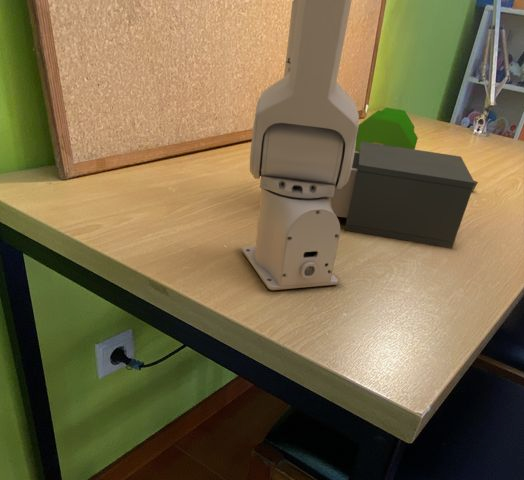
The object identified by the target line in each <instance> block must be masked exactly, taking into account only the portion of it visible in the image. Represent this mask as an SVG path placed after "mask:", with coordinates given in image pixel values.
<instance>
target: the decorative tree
mask: <svg viewBox="0 0 524 480" xmlns="http://www.w3.org/2000/svg"><path fill="white" fill-rule="evenodd" d="M418 139H419V137H418V135H417V134H416V132H415V125H414V123H413V122H412V120H411V118H410V117H409V114H408V113H407V112H406V110H404V109H398V108H391V107H384V108H383V109H382V110H379V109H378V110H376V111H375V112H373V113H372V114H371V115H369V116H368V117H367V118H366V119H364V120H363V121H362V122H361V123H360V122H359V127H358V132H357V137H356V147H355V151H358V152H359V147H360V142H361V141H362V142H369V143H375V144H382V145H388V146H395V147H401V148H408V149H415V150H416V146H417V144H418V143H417V142H418Z"/></svg>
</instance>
